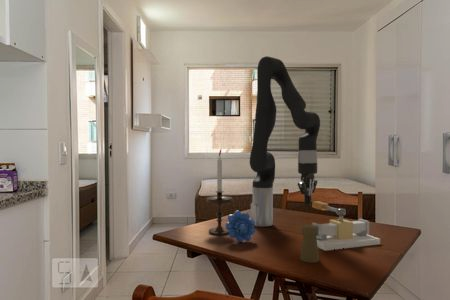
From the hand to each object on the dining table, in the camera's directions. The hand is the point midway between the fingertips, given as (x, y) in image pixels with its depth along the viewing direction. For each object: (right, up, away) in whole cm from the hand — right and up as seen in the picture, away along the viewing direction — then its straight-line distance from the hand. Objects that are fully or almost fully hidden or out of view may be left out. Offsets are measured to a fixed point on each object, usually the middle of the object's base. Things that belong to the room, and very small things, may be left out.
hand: (307, 204), depth 141 cm
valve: (+10, -13, -9) cm, 19 cm away
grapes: (-27, -13, -10) cm, 32 cm away
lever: (+8, -2, -2) cm, 8 cm away
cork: (-6, -13, -28) cm, 32 cm away
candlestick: (-36, -13, +5) cm, 38 cm away
